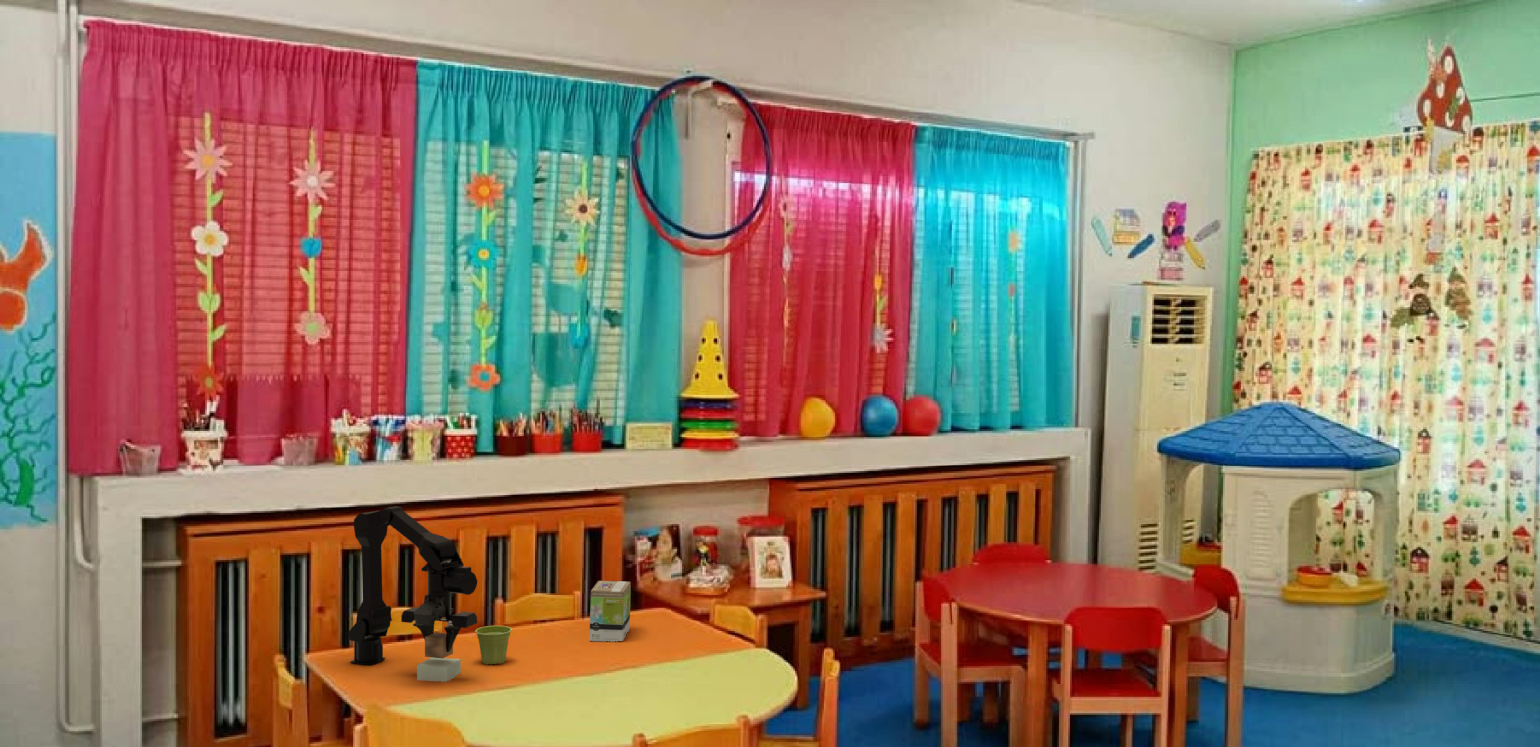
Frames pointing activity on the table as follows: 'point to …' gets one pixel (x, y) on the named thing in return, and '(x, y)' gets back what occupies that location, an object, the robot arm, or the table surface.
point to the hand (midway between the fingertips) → (439, 651)
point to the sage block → (438, 669)
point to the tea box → (610, 611)
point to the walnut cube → (436, 646)
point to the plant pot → (493, 643)
